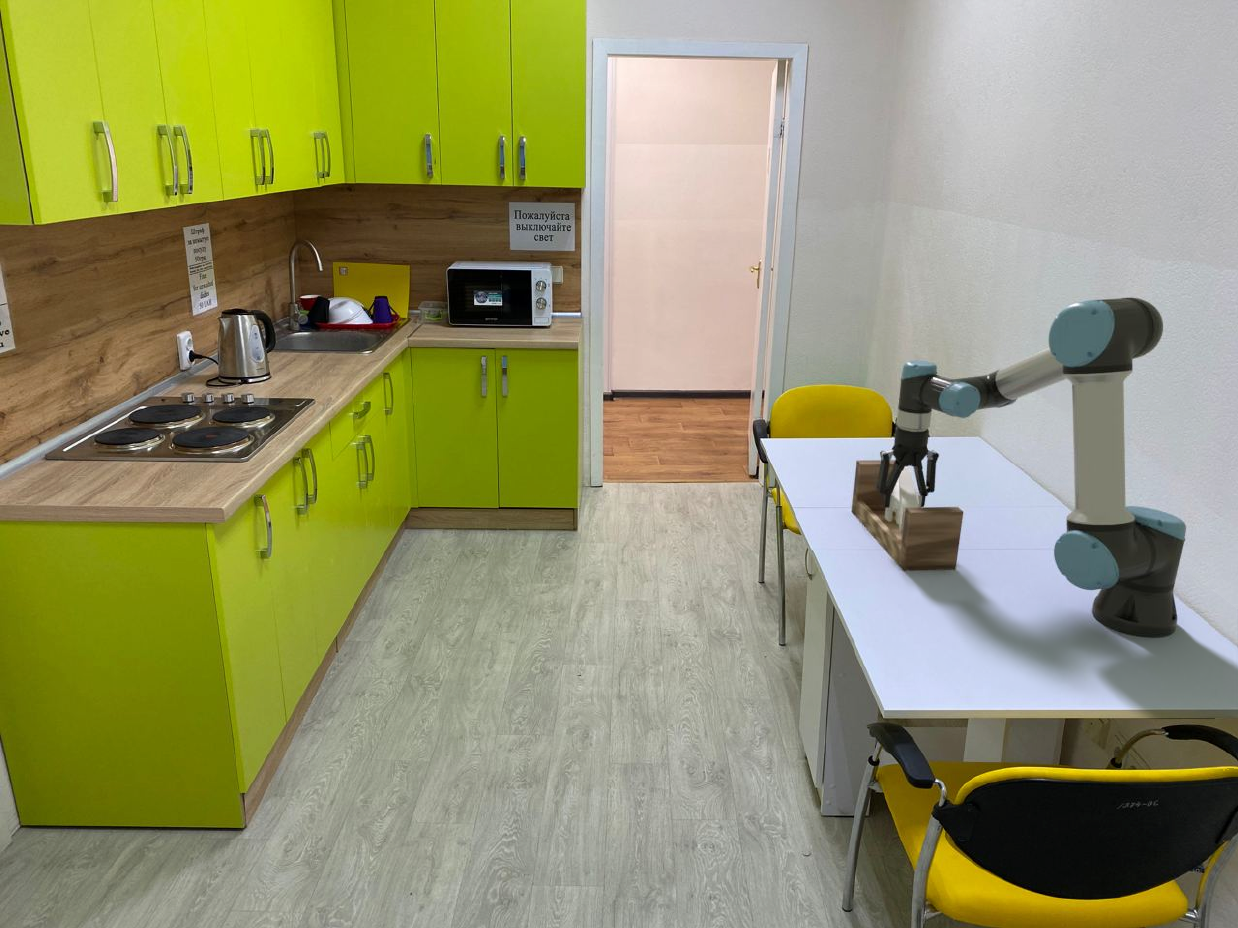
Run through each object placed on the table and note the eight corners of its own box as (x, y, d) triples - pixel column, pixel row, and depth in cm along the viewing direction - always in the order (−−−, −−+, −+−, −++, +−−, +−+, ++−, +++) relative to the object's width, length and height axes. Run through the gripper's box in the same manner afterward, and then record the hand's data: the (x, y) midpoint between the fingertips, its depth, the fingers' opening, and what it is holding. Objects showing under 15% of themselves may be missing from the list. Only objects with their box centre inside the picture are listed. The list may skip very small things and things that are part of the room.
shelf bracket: (907, 500, 244) (913, 457, 238) (916, 556, 223) (923, 510, 216) (885, 498, 245) (891, 455, 239) (892, 554, 223) (898, 509, 217)
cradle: (955, 569, 215) (963, 511, 210) (903, 570, 214) (910, 512, 209) (896, 510, 250) (901, 460, 245) (851, 511, 249) (856, 460, 244)
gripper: (945, 422, 227) (933, 513, 235) (867, 423, 226) (858, 514, 233) (958, 431, 220) (946, 524, 228) (878, 432, 219) (868, 525, 226)
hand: (901, 519), depth 230 cm, fingers closed on shelf bracket, 6 cm apart
